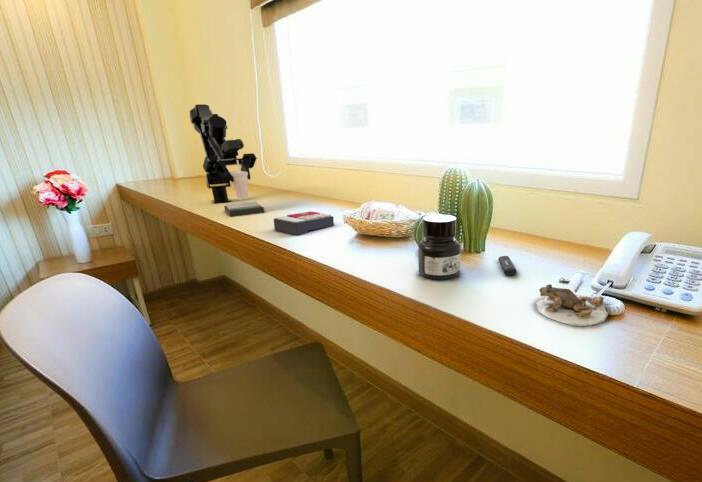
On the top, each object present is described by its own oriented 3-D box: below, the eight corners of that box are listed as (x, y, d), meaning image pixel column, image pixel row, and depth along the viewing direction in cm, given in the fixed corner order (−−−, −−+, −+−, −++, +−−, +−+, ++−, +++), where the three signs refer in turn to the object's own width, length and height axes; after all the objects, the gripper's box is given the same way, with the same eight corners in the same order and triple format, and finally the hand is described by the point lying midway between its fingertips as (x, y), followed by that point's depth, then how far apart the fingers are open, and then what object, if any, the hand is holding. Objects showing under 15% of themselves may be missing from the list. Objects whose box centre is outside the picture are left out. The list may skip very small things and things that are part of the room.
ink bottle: (427, 284, 79) (427, 225, 74) (410, 270, 86) (409, 216, 82) (469, 276, 82) (471, 220, 78) (449, 263, 90) (450, 211, 85)
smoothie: (241, 200, 144) (234, 161, 139) (230, 199, 147) (223, 160, 142) (255, 197, 149) (249, 159, 144) (244, 196, 152) (238, 159, 147)
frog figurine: (532, 320, 63) (534, 298, 62) (537, 292, 74) (540, 273, 72) (610, 331, 60) (615, 308, 58) (604, 300, 70) (608, 280, 69)
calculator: (333, 214, 125) (294, 220, 114) (334, 227, 126) (296, 235, 115) (311, 210, 131) (272, 216, 120) (312, 223, 133) (274, 230, 121)
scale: (225, 211, 151) (223, 204, 150) (257, 207, 157) (256, 201, 156) (230, 216, 142) (228, 209, 141) (264, 212, 148) (263, 205, 147)
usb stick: (497, 261, 91) (498, 255, 90) (509, 261, 91) (509, 255, 90) (504, 276, 82) (504, 269, 81) (517, 276, 82) (517, 269, 81)
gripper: (199, 132, 135) (221, 167, 132) (249, 130, 148) (270, 162, 146) (194, 155, 142) (214, 188, 140) (242, 151, 156) (262, 182, 153)
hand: (241, 180), depth 145 cm, fingers closed on smoothie, 6 cm apart
